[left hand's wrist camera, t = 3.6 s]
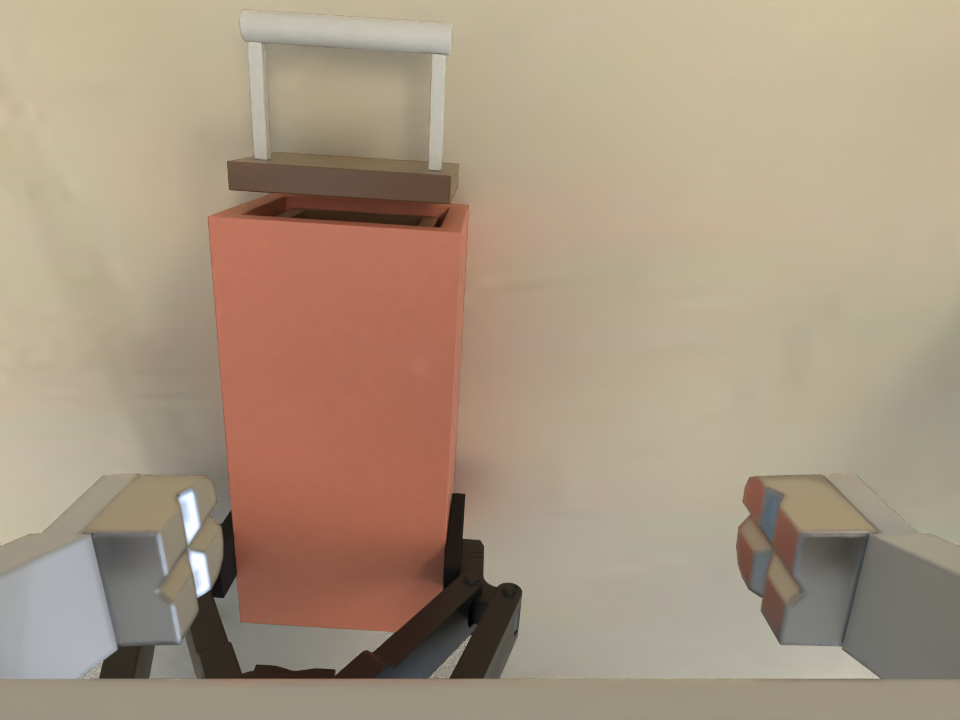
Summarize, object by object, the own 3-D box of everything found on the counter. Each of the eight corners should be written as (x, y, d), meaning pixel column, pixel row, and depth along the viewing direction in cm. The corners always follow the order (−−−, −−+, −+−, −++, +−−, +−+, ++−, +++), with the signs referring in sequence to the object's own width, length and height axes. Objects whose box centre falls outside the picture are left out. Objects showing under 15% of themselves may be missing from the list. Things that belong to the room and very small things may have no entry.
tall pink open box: (273, 192, 36) (207, 216, 28) (469, 205, 36) (461, 232, 28) (288, 525, 44) (240, 622, 35) (451, 535, 44) (441, 635, 35)
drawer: (270, 23, 33) (215, 1, 26) (465, 36, 33) (458, 16, 26) (291, 487, 42) (253, 556, 35) (443, 497, 42) (433, 568, 35)
